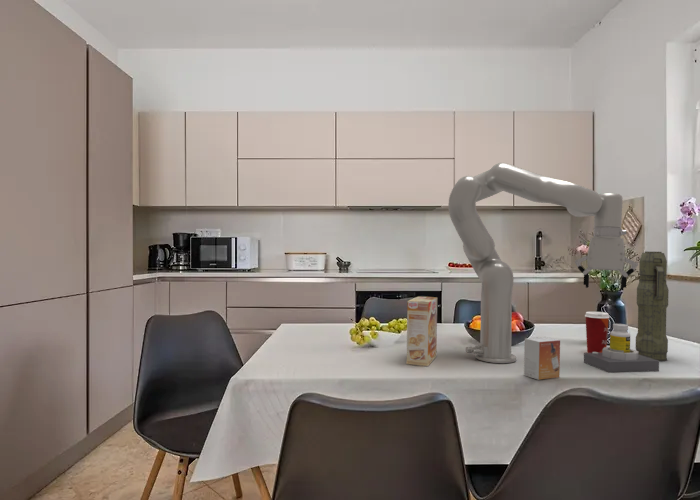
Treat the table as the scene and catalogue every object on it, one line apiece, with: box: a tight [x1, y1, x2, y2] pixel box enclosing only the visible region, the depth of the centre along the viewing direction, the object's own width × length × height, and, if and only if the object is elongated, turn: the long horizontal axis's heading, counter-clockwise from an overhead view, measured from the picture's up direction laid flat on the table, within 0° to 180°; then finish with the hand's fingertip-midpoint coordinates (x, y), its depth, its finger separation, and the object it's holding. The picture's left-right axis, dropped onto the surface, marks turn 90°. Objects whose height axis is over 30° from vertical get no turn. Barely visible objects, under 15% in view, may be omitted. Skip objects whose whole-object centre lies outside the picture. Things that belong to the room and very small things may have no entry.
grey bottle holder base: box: [583, 346, 660, 373], centre depth 148 cm, size 16×12×5 cm
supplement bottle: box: [609, 323, 631, 353], centre depth 148 cm, size 5×5×10 cm
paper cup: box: [584, 311, 610, 353], centre depth 165 cm, size 8×8×14 cm
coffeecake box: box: [406, 295, 438, 367], centre depth 154 cm, size 15×7×20 cm, turn 160°
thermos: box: [635, 251, 669, 363], centre depth 159 cm, size 9×12×35 cm
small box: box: [523, 336, 561, 381], centre depth 136 cm, size 8×6×10 cm
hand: (604, 288), depth 151 cm, fingers open, 9 cm apart
